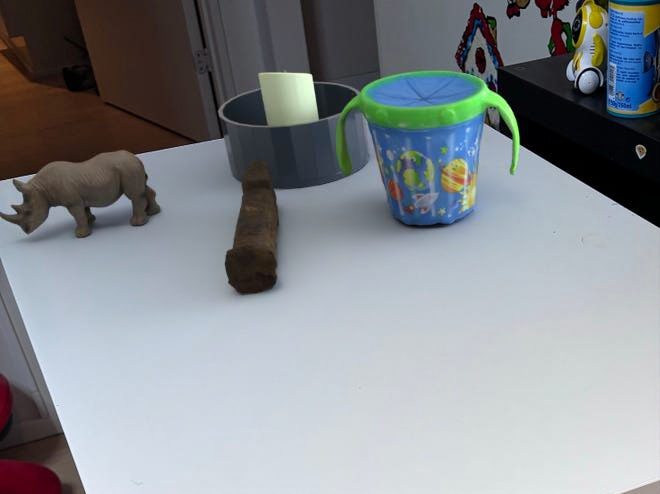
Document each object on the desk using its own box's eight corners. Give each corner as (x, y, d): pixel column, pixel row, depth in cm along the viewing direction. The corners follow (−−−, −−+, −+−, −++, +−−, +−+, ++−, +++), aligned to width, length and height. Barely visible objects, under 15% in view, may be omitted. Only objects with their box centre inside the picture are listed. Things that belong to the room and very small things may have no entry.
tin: (219, 192, 97) (205, 131, 94) (244, 143, 107) (232, 86, 104) (362, 184, 97) (354, 122, 93) (374, 135, 107) (367, 78, 103)
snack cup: (531, 192, 93) (528, 68, 86) (507, 240, 85) (501, 109, 78) (368, 188, 96) (352, 68, 89) (331, 233, 88) (311, 107, 81)
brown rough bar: (281, 293, 80) (270, 235, 77) (230, 297, 80) (217, 239, 77) (298, 204, 94) (289, 151, 91) (255, 207, 94) (244, 154, 91)
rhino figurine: (7, 238, 92) (-19, 168, 88) (158, 206, 96) (140, 138, 92) (12, 254, 89) (-15, 183, 85) (167, 220, 93) (148, 151, 89)
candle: (285, 147, 104) (269, 57, 98) (331, 148, 103) (317, 57, 97) (266, 165, 100) (248, 73, 95) (314, 166, 99) (298, 73, 94)
